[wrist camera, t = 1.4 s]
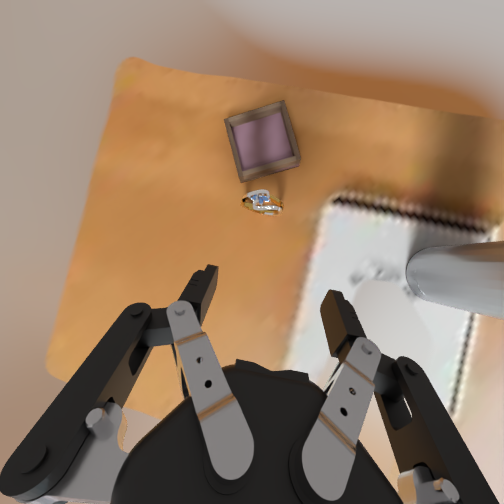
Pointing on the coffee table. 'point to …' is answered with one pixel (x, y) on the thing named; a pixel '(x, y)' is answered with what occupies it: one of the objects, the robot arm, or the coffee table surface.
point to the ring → (259, 199)
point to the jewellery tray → (262, 141)
